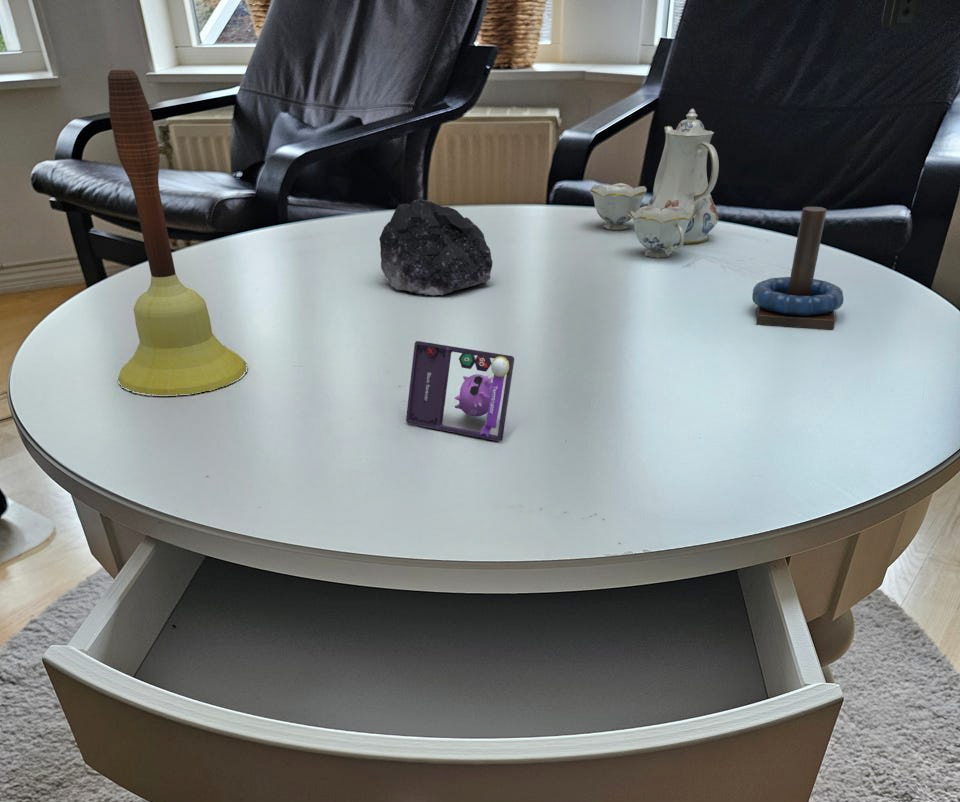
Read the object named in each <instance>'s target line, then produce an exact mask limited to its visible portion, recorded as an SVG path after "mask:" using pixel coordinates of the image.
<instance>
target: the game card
mask: <svg viewBox="0 0 960 802" xmlns="http://www.w3.org/2000/svg"><path fill="white" fill-rule="evenodd" d="M452 353H457V354H458V353H459V354H460V356H459V358H458V361H459V363H460V367H461V368H462V369H466V370H467V369H468V370H471V369H472V368H473V367H474V365H475V368H476V370H477V371H479V372H486V373H487V371H488V370H489V368H491V372H492V373H493V376H490V375H483V374H480V373H477V374H472V375H470V376H465V375H463V376H462V378H463V382H462V383H461V385H460V390H459V395H457V396H455V397H454V399H455V400H457V401H458V404H456V405H454V408H455V409H457V410H461V411H462V413H464V414H465V415H467V416H469V417H471V418H473V417H474V418H478V417H482V416H484V415H486V420H485V424H484V425H483V427H482V428H481V430H480V431H475V430H471V429H465V428H460V427H455V426H449V425H445V424H443V421H444V413H445V405H446V398H447V389H448V382H449V375H450V366H451V358H452ZM491 359H492V361H491ZM514 365H515V357H514V356H513V355H509V354H503V353H496V352H489V351H484V350H477V349H472V348H471V349H470V348H464V347H457V346H451V345H447V344H446V345H445V344H439V343H433V342H427V341H420V340H416V341H415V342H414V345H413V356H412V364H411V372H410V381H409V390H408V396H407V397H408V399H407V407H406V417H405V423H407V424H411V425H415V426H420V427H424V428H429V429H435V430H438V431H439V430H440V431H444V432H449V433H455V434H458V435H459V434H460V435H465V436H469V437H475V438H480V439H485V440H490V441H495V442H501V441H502V440H503V438H504V432H505V425H506V418H507V413H508V412H507V411H508V404H509V398H510V392H511V384H512V379H513V378H512V377H513V371H514ZM504 382H505V383H504ZM503 386H504V387H503ZM502 394H503V396H502ZM501 400H502V404H501ZM500 406H501V408H500ZM500 409H501V410H500ZM499 410H500V411H499ZM499 412H500V417H499V423H498V429H497V434H491V430H492V429H496V427H497V421H498V416H499Z"/></svg>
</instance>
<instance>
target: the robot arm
mask: <svg viewBox="0 0 960 802" xmlns="http://www.w3.org/2000/svg"><path fill="white" fill-rule="evenodd" d="M921 2H922V0H885V3H884V7H883V12H882V17H881V27H883V28H885V29H890V30H892V31H911V30H913V29H914V28H915V27H916V25H917V22H918V16H919V11H920V7H921Z"/></svg>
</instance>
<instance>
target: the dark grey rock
mask: <svg viewBox="0 0 960 802" xmlns="http://www.w3.org/2000/svg"><path fill="white" fill-rule="evenodd" d="M379 247H380V253H379V254H380V269H381V271H382V273H383V275H384V277H385V278H386V280H387V281H388V283H389V286H391V287H392V288H393V289H395V290H397V291H406V292H407V291H408V292H410V293H413V292H415V293H414V294H417V293H419V294H418V295H421V294H425V295H424V296H427V295H441V296H444V295H446V294H450V293H453V292H457V291H459V290H463V289H466V288H470V287H475V286H478V285H481V284H485V283H486V282H488V281H490V280H491V275H492V273H491V272H492V268H493V262H494V261H493V259H492V252H491V249H490V247H489V246H488V244H487V241H486V239H485V235H484V233H483V231H482V230H481V229H480V227H478V225H477V224H476V223H474V222H473V221H472V220H471V219H470V218H469V217H464V216H463V215H462V214H461V213H460V212H459V211H458V210H457V209H455V208H452V207H450V206H442V205H440V204H438V203H435V202H432V201H429V200H427V199H414V200H412V202H411V203H410V204H409V203H405V202H404V203H402V204H399V205H398V206H397V207H396V208H395V210H394V212H393V214H392V216H391V218H390V221H388V222H387V223H386V224H385V226H384V227H383V229H382V231H381V234H380V236H379Z"/></svg>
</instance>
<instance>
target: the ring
mask: <svg viewBox="0 0 960 802" xmlns="http://www.w3.org/2000/svg"><path fill="white" fill-rule="evenodd" d="M789 281H790V276H781V277H771V278H767V279H765V280H762V281H759V282H758V283H756V284H755V285H754V286H753V289H752V302H753V303H754V304H755V305H756V306H757V307H758V306H760V307H762V308H763V309H765V310H767V311H771V312H776V313H780V314H785V315H798V316H812V315H823V314H828V313H830V312H832V311H834V312H835V311H836V310H838V309H840V308H841V307H842V306H843V304H844V292H843V290H842V288H841V287H840V286H838V285H835V284H833V283H831V282H830V281H827V280H823V279H822V280H821V279H816V278H813V282H812V287H811V292H810V296H798V295H788V294H787V292H788V287H789Z"/></svg>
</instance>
